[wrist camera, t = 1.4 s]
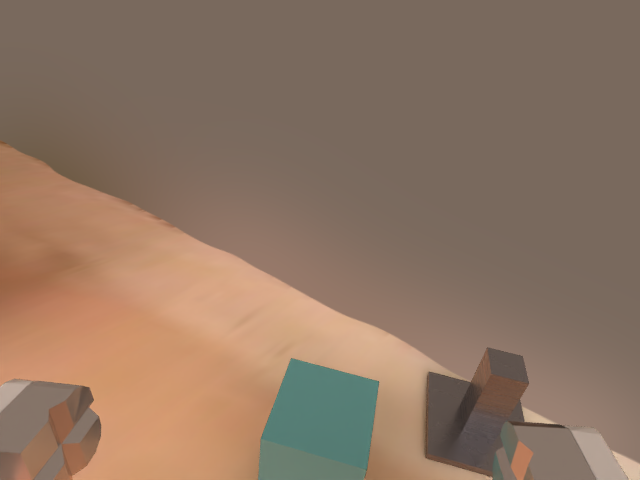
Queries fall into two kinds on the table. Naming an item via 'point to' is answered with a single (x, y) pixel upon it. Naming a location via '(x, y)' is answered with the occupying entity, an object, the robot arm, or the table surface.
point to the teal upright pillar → (319, 425)
